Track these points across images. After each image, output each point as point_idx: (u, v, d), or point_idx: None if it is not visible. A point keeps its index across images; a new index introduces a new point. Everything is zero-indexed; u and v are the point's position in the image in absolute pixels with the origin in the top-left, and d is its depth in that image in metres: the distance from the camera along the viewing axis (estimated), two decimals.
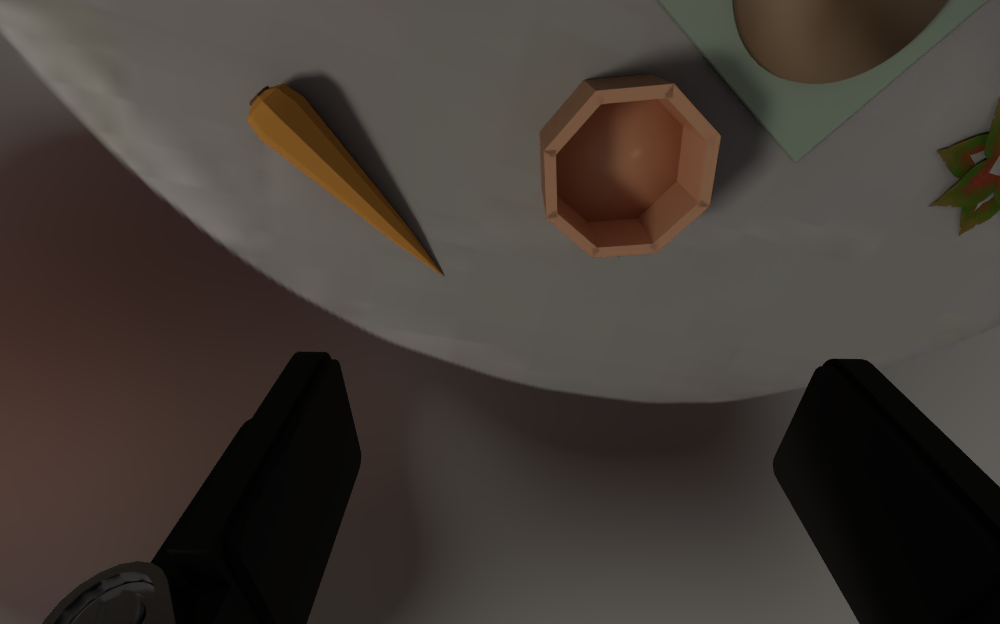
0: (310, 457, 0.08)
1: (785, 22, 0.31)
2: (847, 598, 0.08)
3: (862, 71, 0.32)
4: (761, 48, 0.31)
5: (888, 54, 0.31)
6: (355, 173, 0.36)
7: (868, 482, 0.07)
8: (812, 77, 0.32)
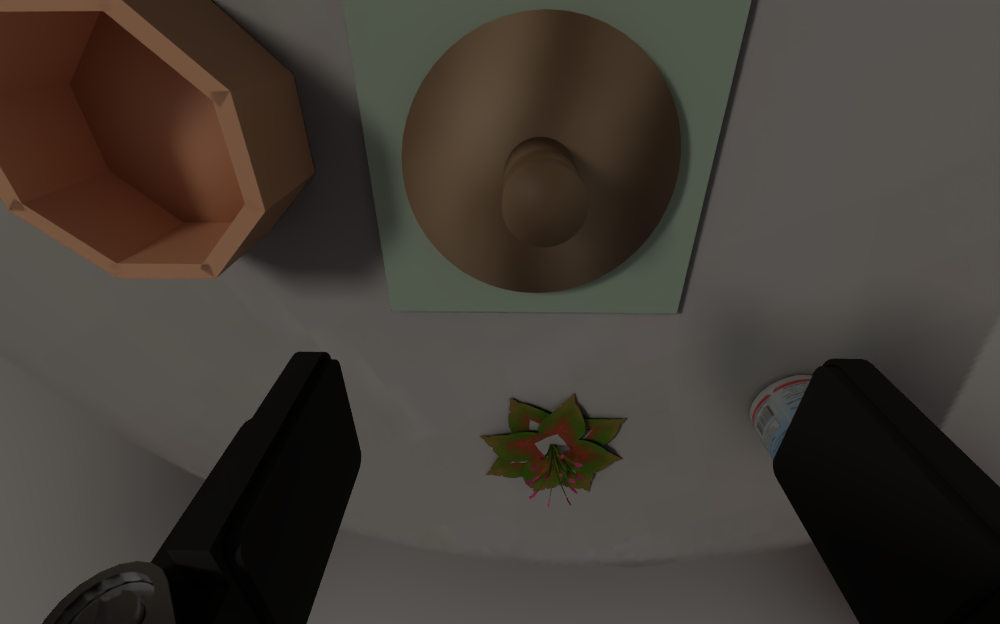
0: (310, 457, 0.08)
1: (448, 167, 0.23)
2: (847, 598, 0.08)
3: (486, 281, 0.27)
4: (411, 169, 0.23)
5: (514, 286, 0.27)
6: None
7: (868, 482, 0.07)
8: (442, 245, 0.26)
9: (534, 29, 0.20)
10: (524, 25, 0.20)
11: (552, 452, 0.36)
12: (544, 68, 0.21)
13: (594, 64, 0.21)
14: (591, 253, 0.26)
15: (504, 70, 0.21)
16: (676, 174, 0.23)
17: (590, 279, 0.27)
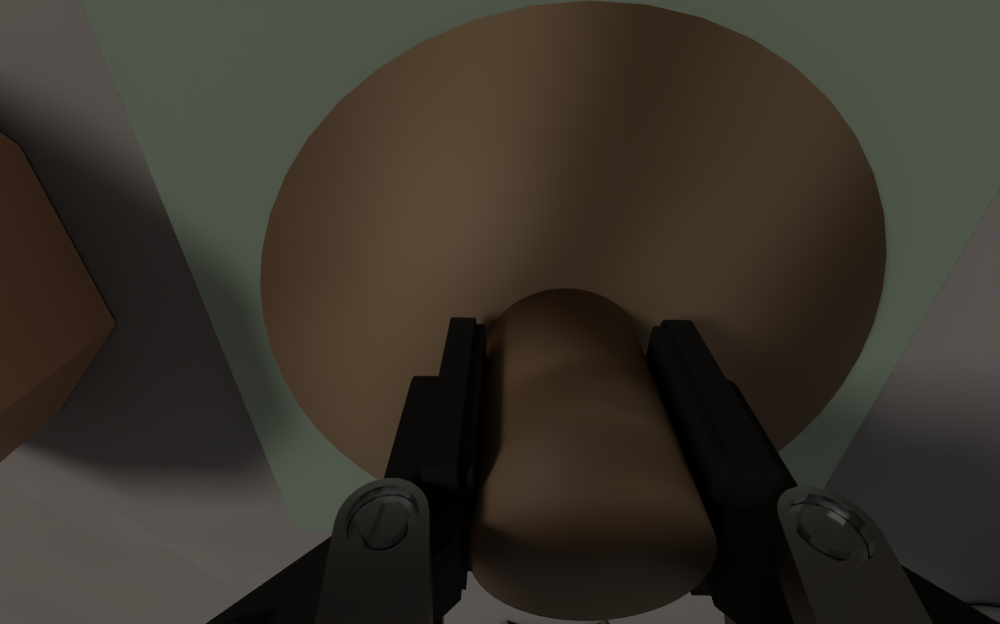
0: (481, 406, 0.08)
1: (366, 340, 0.11)
2: None
3: None
4: (289, 343, 0.11)
5: None
6: None
7: (672, 421, 0.08)
8: (369, 462, 0.13)
9: (557, 54, 0.08)
10: (531, 44, 0.08)
11: None
12: (580, 148, 0.08)
13: (705, 138, 0.08)
14: None
15: (481, 152, 0.09)
16: (854, 357, 0.11)
17: None
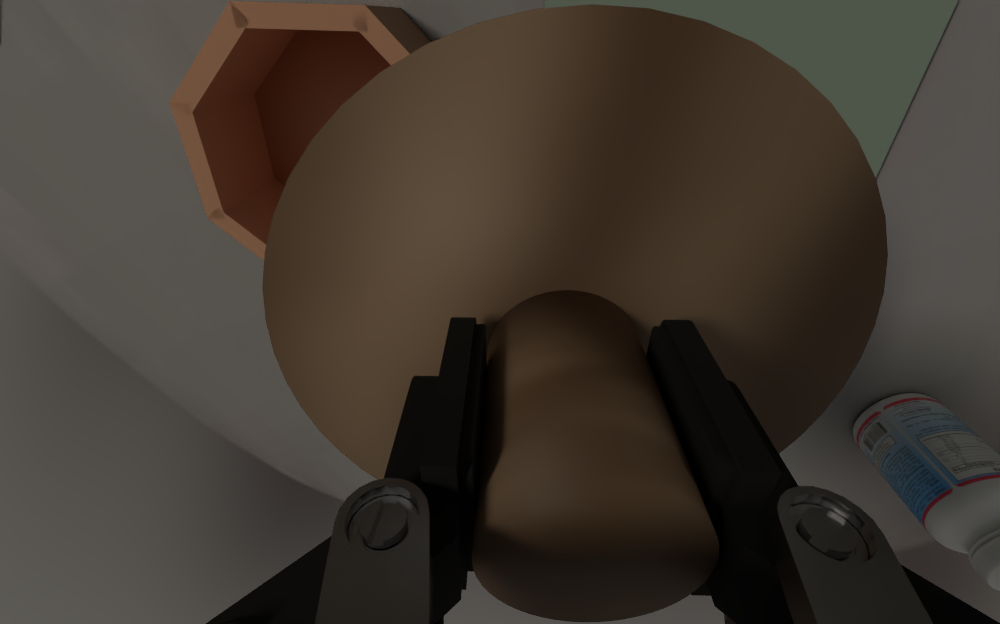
0: (481, 406, 0.08)
1: (368, 341, 0.11)
2: None
3: None
4: (291, 344, 0.11)
5: None
6: None
7: (672, 421, 0.08)
8: (370, 463, 0.13)
9: (560, 57, 0.08)
10: (534, 47, 0.08)
11: None
12: (582, 150, 0.09)
13: (706, 141, 0.08)
14: None
15: (484, 154, 0.09)
16: (855, 359, 0.11)
17: None
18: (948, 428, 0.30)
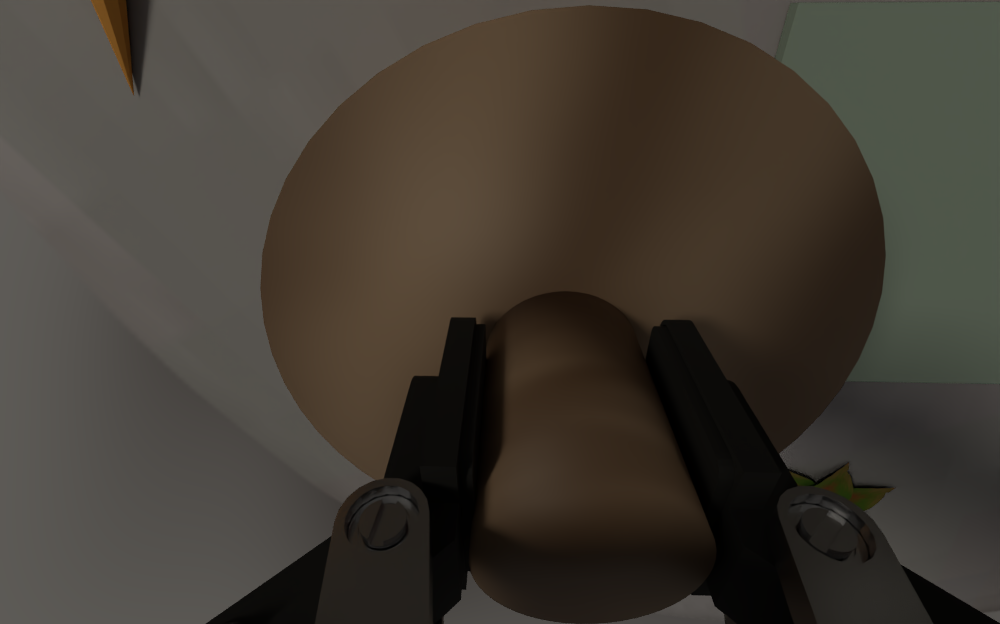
0: (481, 406, 0.08)
1: (366, 342, 0.11)
2: None
3: None
4: (289, 345, 0.11)
5: None
6: None
7: (672, 421, 0.08)
8: (369, 464, 0.13)
9: (557, 58, 0.08)
10: (531, 48, 0.08)
11: None
12: (580, 152, 0.09)
13: (704, 142, 0.08)
14: None
15: (482, 155, 0.09)
16: (854, 360, 0.11)
17: None
18: None
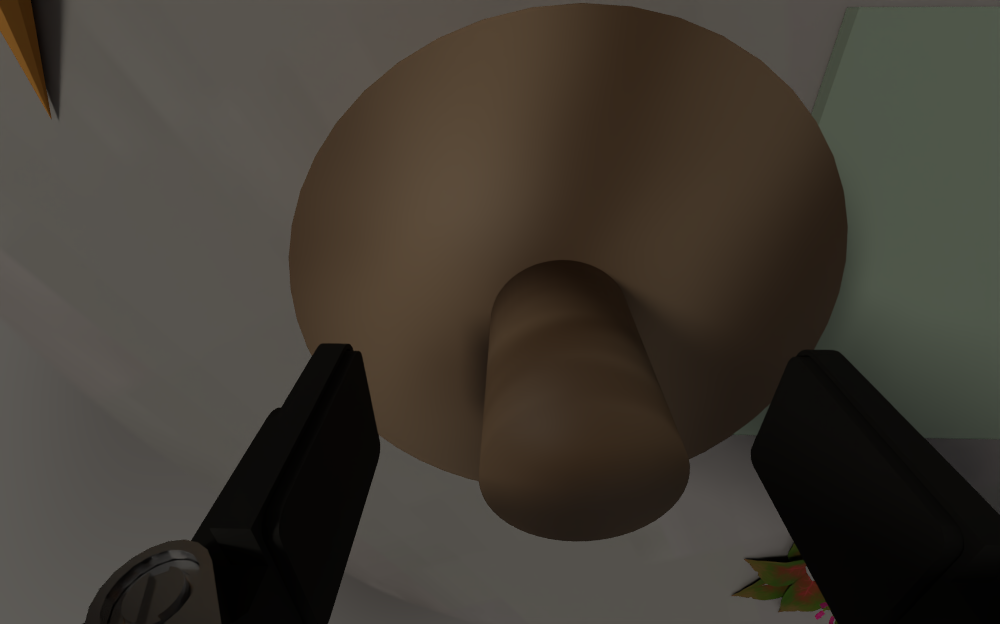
0: (337, 444, 0.08)
1: (383, 308, 0.12)
2: (817, 581, 0.08)
3: (463, 474, 0.16)
4: (313, 311, 0.12)
5: None
6: None
7: (835, 467, 0.08)
8: (382, 426, 0.14)
9: (555, 49, 0.09)
10: (532, 40, 0.09)
11: None
12: (575, 132, 0.10)
13: (684, 124, 0.10)
14: None
15: (488, 135, 0.10)
16: (823, 324, 0.12)
17: None
18: None
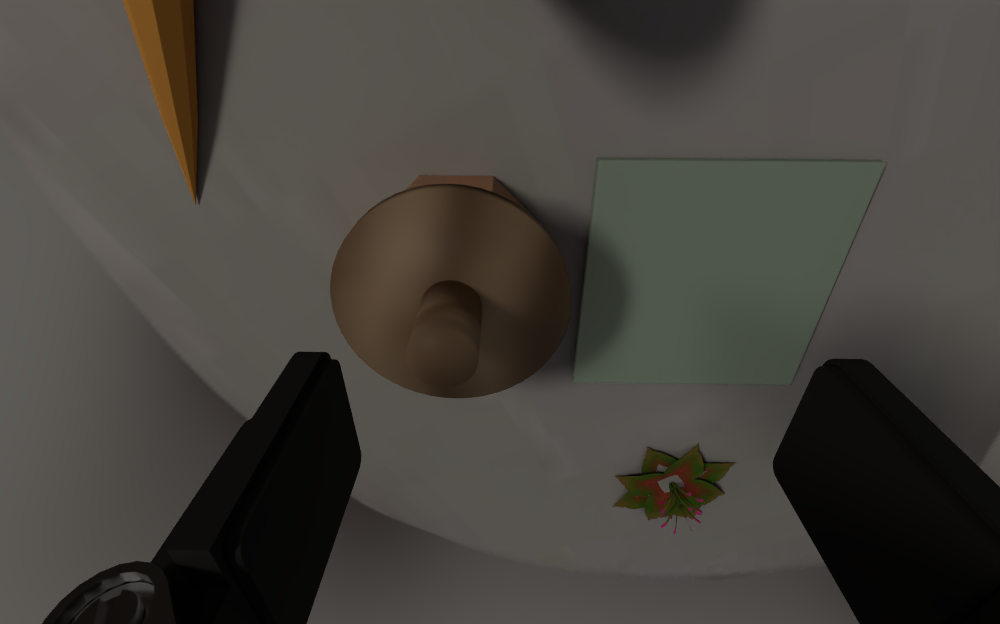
0: (310, 457, 0.08)
1: (371, 302, 0.27)
2: (847, 598, 0.08)
3: (413, 389, 0.30)
4: (340, 303, 0.27)
5: (438, 393, 0.30)
6: (177, 5, 0.24)
7: (868, 482, 0.07)
8: (371, 361, 0.29)
9: (436, 203, 0.24)
10: (427, 200, 0.24)
11: None
12: (447, 230, 0.25)
13: (489, 228, 0.24)
14: (503, 367, 0.29)
15: (414, 232, 0.25)
16: (569, 308, 0.27)
17: (505, 387, 0.30)
18: None
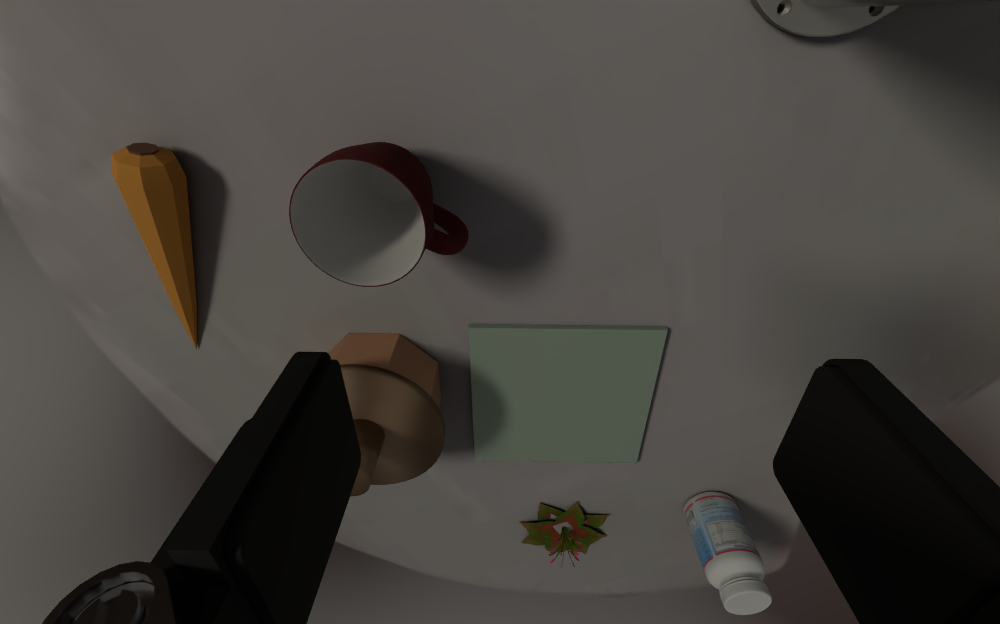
0: (310, 457, 0.08)
1: None
2: (847, 598, 0.08)
3: None
4: None
5: None
6: (181, 253, 0.37)
7: (868, 482, 0.07)
8: None
9: (346, 378, 0.37)
10: None
11: (563, 532, 0.59)
12: (355, 393, 0.38)
13: (382, 392, 0.38)
14: (404, 467, 0.43)
15: None
16: (442, 434, 0.40)
17: (408, 479, 0.44)
18: (722, 517, 0.51)
